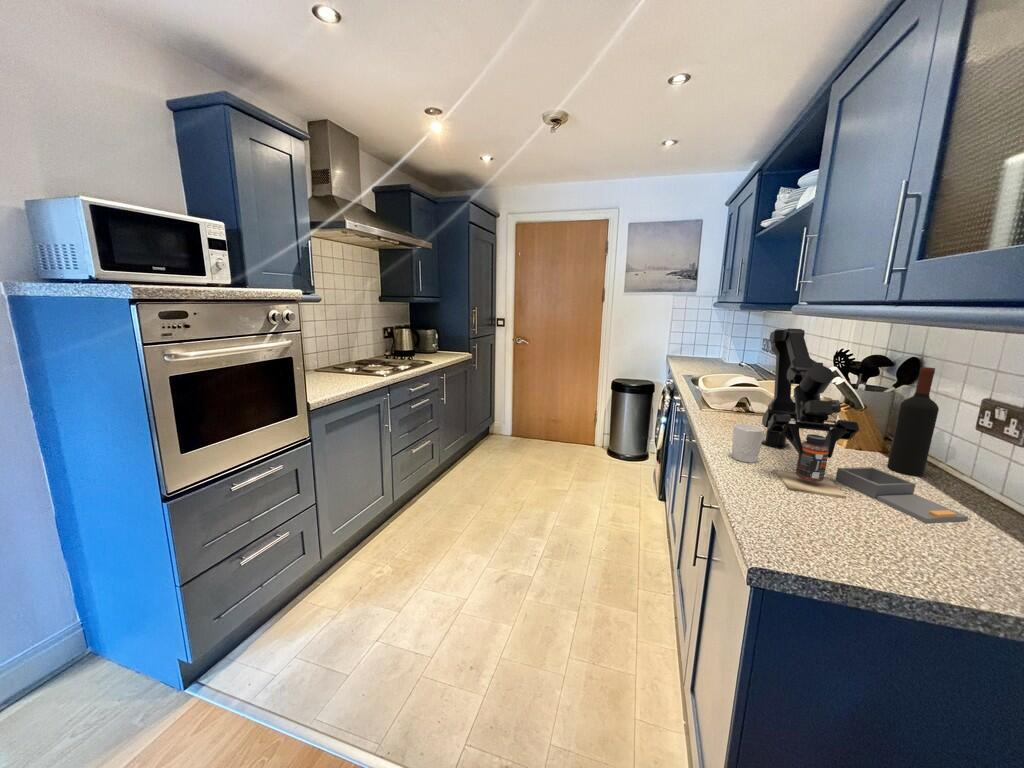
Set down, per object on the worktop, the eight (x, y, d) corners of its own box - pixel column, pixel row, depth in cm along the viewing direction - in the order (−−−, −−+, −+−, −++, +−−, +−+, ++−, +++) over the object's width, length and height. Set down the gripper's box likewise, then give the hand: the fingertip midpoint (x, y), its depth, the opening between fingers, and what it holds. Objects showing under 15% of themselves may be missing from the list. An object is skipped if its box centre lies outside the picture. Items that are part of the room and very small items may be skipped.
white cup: (751, 454, 126) (756, 424, 124) (764, 464, 118) (769, 431, 116) (725, 453, 126) (729, 422, 125) (736, 463, 119) (741, 430, 117)
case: (835, 480, 108) (837, 468, 107) (870, 479, 109) (872, 467, 109) (925, 522, 87) (929, 508, 86) (967, 520, 88) (971, 506, 88)
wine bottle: (892, 472, 114) (915, 368, 108) (883, 463, 121) (904, 364, 115) (928, 478, 111) (953, 370, 105) (917, 469, 117) (940, 367, 112)
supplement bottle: (823, 485, 101) (831, 442, 99) (794, 478, 105) (801, 436, 102) (823, 477, 106) (831, 436, 103) (796, 471, 109) (803, 431, 107)
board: (775, 471, 113) (775, 469, 113) (826, 479, 109) (827, 476, 109) (788, 489, 102) (788, 487, 102) (845, 498, 98) (846, 496, 98)
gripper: (777, 384, 107) (782, 436, 99) (863, 390, 101) (876, 446, 93) (765, 405, 116) (769, 455, 108) (844, 413, 110) (854, 466, 102)
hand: (815, 455), depth 103 cm, fingers closed on supplement bottle, 6 cm apart
